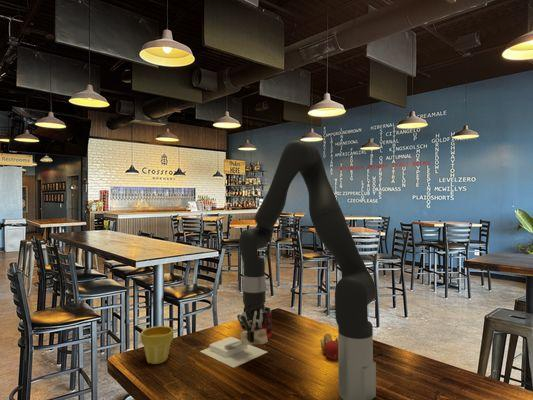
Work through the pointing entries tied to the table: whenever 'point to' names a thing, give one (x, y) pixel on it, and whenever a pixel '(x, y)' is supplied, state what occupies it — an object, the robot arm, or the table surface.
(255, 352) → the mat
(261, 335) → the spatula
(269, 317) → the canned food
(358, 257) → the robot arm
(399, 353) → the table surface
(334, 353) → the kendama
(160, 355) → the plant pot
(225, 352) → the tile
